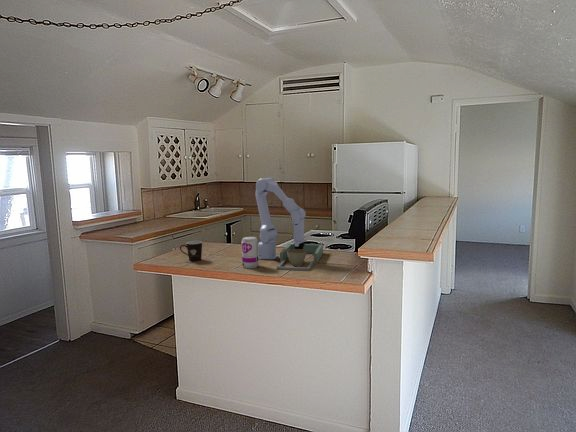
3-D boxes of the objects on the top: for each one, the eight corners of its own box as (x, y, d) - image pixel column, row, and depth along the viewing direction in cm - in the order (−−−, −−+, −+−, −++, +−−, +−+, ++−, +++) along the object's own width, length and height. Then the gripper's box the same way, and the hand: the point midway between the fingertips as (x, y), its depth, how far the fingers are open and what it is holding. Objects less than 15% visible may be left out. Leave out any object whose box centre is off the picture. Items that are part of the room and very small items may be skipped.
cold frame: (280, 262, 226) (279, 252, 226) (289, 252, 248) (288, 243, 247) (317, 263, 222) (316, 253, 221) (323, 253, 244) (322, 244, 243)
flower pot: (304, 267, 215) (304, 253, 213) (285, 266, 217) (285, 253, 216) (308, 262, 224) (307, 249, 223) (289, 261, 226) (289, 248, 225)
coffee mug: (206, 259, 237) (205, 241, 236) (196, 262, 229) (195, 244, 228) (189, 257, 242) (188, 240, 240) (179, 261, 234) (178, 243, 233)
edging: (276, 269, 212) (276, 267, 212) (283, 262, 226) (282, 260, 225) (309, 270, 209) (309, 268, 209) (313, 263, 222) (313, 261, 222)
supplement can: (252, 269, 214) (251, 240, 211) (239, 267, 218) (238, 238, 216) (261, 265, 220) (260, 237, 218) (248, 263, 225) (247, 235, 222)
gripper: (303, 234, 217) (304, 260, 219) (308, 229, 231) (309, 253, 233) (290, 234, 218) (291, 260, 220) (295, 229, 232) (296, 253, 234)
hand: (299, 256), depth 227 cm, fingers closed
